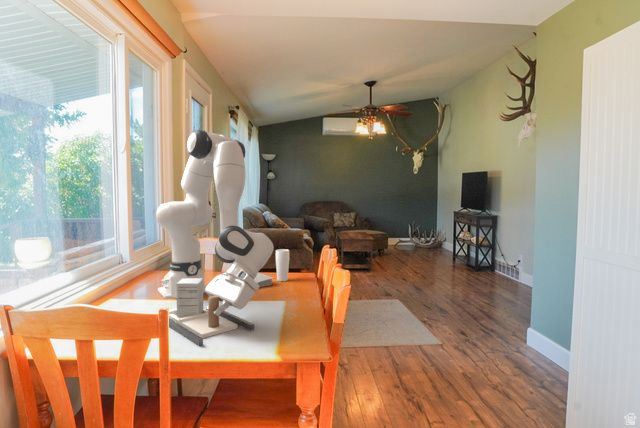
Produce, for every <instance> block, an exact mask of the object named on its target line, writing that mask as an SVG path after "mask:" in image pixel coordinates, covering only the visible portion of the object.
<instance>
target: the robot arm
mask: <svg viewBox="0 0 640 428" xmlns="http://www.w3.org/2000/svg"><path fill="white" fill-rule="evenodd" d="M186 151H187V153H188V154H189V155H190V156H189V158H188V161H187V163H186V167H185V169H184V172H183V174H182V179H181V182H180V186H181V188H182V190H183V191H184V193H185V199H184V201H183V200H182V201H181V200H180V201H178V200H177V201H169V202H165V203H162V204H160V205H159V206H158V207H157V210H156V213H155V218H156V221H157V223H158V224H159V226H160V227H162V229H164V230H165V231H166V233H167V235H168V237H169V240H170V244H171V245H170V246H171V261H170V265H169V271H168V272H167V273H166V274H165V275H164V277H163V279H161V285H162V286H160V287H158V288H157V291H158V292H159V294H160V296H161V297H163V299H164V298H165V299H177V283H178V282H179V281H180V280H181V279H186V278H203V294H206V295H207V296H208V297H210V296H218V297H219V302H221V304H219V307H218V308H215V310H214V311H213V313H214V314H215V315H217V316H219V315H220V314H221V312H223V311H226V310H227V309H228V308H229V307H230V306H231V307H234V308H235V309H237V310H241V309H244V308H245V307H246V306H247V305H248V304H249V302H250V301H251V299H252V298H253V297H254V294H255V292H257V291H258V290H259V289H260V286H259V285H258V284H257V282H256V281H255V280H254V279H255V277H256V276H257V273H259V271H260V270H261V269H263V268H264V267H265V265H266V264H267V262H268V261H269V259H270V258H271V257H272V254H273V252H274V250H275V249H274V243H273V241H272V240H271V239H270V237H269V236H268V235H267V234H265V233H263V232H253V231H249V230H247V229H244V228H242V227H240V226H239V222H238V221H239V219H238V218H239V216H238V214H239V212H238V211H239V205H240V202H241V198H242V195H243V194H244V190H245V185H246V178H247V177H246V164H245V163H246V162H245V157H246V148H245V145H244V143H243V142H241V141H239V140H238V139H233V138H231V137H228V136H226V135H223V134H218V133H213V132H209V131H205V130H202V129H201V130H200V129H199V130H198V129H197V130H194V131H192V132H191V133H190V135H189V137H188V140H187V143H186ZM213 180H214V181H213ZM212 181H213V182H214V187H215V191H216V196H217V201H218V206H219V207H218V208H219V236H218V238H217V242H216V244H215V246H214V254H215V256H216V258H217V259H218V260H219V261H220V262H222V263H224V264H230V266H229V267H228V268H227V270H225V271H224V272H222V273H219V274H217V275H216V276H215V277H214V278H212V279H211V281H210V282H209V283H208V284H207V285H206V283H205V282H206V280H205V273H204V271H203V270H202V260H201V242H200V240H199V239H198V238H196V237H195V236H194V235H193V233H192V229H191V228H193V227H201V226H204V225H207V224H209V223H210V222H211V221H212V219H213V209H212V206H211V205H210V204H209V190H210V187H211V184H212ZM205 309H206V310H207V311H208V305H207V306H206V307H205Z"/></svg>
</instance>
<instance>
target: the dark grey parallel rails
mask: <svg viewBox="0 0 640 428" xmlns="http://www.w3.org/2000/svg"><path fill="white" fill-rule="evenodd" d="M219 316H221V317H223V318H225V319H227V320H229V321H231V322H233V323H235V324H237V326H240V327H241V328H243V329H246V330H248V331H250V332H252V331H255V324H254V323H253V322H250V321H248V320H246V319H243V318H242V317H239V316H237V315H235V314H233V313H230V312H228V311H226V310H224V311H223V312H221V314H220V315H219ZM168 328H170V329H172V330H173V331H174V332H176V333H178V334H179V335H180V336H182V337H183V338H186V339H187V340H189V341H191V343H193V344H194V345H196V346H198V347H202V346H204V338H201V337H199V336H198V335H196V334H194V333H193V332H191V331H189V330H188V329H186V328H185V327H183V326H181V325H180V324H178V323H176V322H175V321H173V320H171V319H170V318H169V327H168Z"/></svg>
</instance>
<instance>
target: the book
mask: <svg viewBox="0 0 640 428" xmlns="http://www.w3.org/2000/svg"><path fill="white" fill-rule="evenodd" d="M274 279H276V278H275V277H273V276H270V275H266V274H263V273H261V272H258V273H257V276H256V277H255V279H254V280H255V281H256V282H257V284H258V285H259V286H260V287H267V286H268V287H269V286H272V284H273V280H274ZM260 287H259V288H260Z"/></svg>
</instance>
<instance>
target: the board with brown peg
mask: <svg viewBox="0 0 640 428" xmlns="http://www.w3.org/2000/svg"><path fill="white" fill-rule="evenodd" d="M207 299H208V301H207V303H208V304H207V306H208V311H207V310H206V308H204V307H203V313H201V314H196V315H192V316H188V317H184V318H179V317H177V308H173V309H168V310H169V318H170V319H171V320H173V321H175V322H176V323H178V324H180V325H181V326H183V327H185V328H186V329H188V330H189V331H191V332H193V333H194V334H196V335H198V336H199V337H201V338H203V339H205V338H208V337H211V336H215V335H219V334H222V333H226V332H230V331H233V330H237V329H238V325H237V324H235V323H233V322H231V321H229V320H227V319H225V318H223V317H221V316H217V315H215V314H214V313H213V311H214V310H215V308H218V307H219V306H220V301H219V297H218V296H208V297H207Z"/></svg>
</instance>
